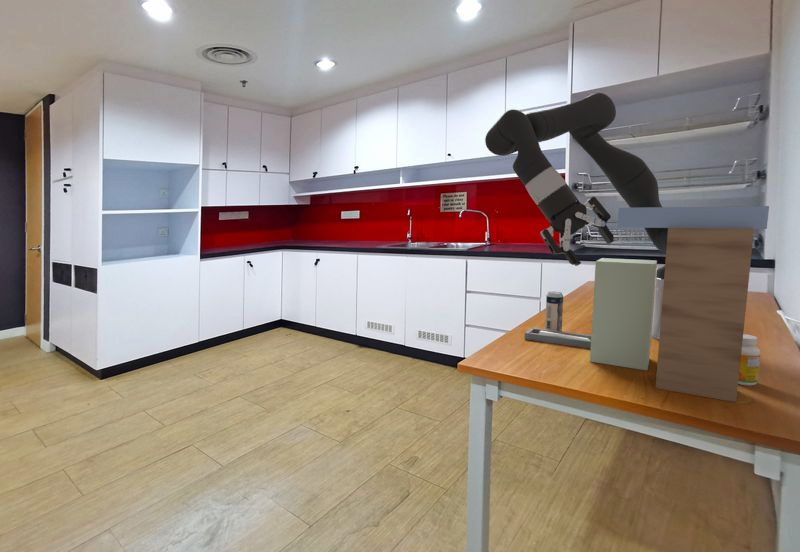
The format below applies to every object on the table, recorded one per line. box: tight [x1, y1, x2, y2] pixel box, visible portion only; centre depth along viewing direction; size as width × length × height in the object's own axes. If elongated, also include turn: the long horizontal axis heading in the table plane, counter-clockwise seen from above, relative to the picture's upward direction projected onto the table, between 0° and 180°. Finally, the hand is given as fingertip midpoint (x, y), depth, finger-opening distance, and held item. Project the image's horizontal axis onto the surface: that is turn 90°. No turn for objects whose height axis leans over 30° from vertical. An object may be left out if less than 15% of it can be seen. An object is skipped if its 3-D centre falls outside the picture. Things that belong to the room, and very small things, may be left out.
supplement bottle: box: [738, 333, 761, 386], centre depth 92 cm, size 5×5×10 cm
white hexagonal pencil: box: [539, 331, 590, 341], centre depth 122 cm, size 3×2×16 cm
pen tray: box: [524, 327, 591, 350], centre depth 122 cm, size 7×22×2 cm, turn 58°
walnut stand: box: [655, 228, 755, 403], centre depth 87 cm, size 8×13×32 cm, turn 58°
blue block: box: [617, 205, 770, 230], centre depth 86 cm, size 4×24×4 cm, turn 58°
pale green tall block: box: [589, 257, 658, 371], centre depth 105 cm, size 10×12×24 cm
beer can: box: [544, 291, 564, 332], centre depth 132 cm, size 5×5×12 cm
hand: (594, 253), depth 96 cm, fingers open, 8 cm apart
